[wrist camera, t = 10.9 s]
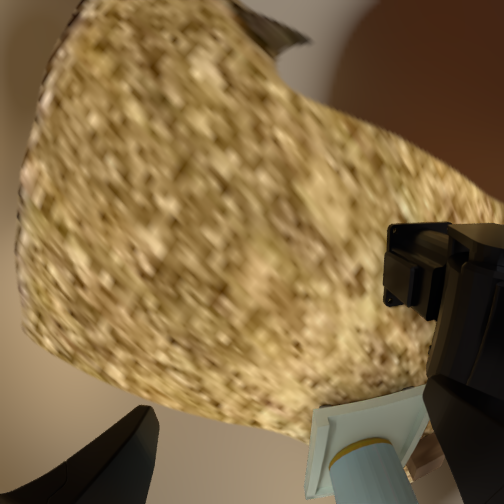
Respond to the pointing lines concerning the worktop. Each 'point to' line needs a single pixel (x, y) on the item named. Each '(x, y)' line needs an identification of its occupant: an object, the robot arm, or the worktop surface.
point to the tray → (363, 432)
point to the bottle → (370, 474)
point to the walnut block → (425, 457)
